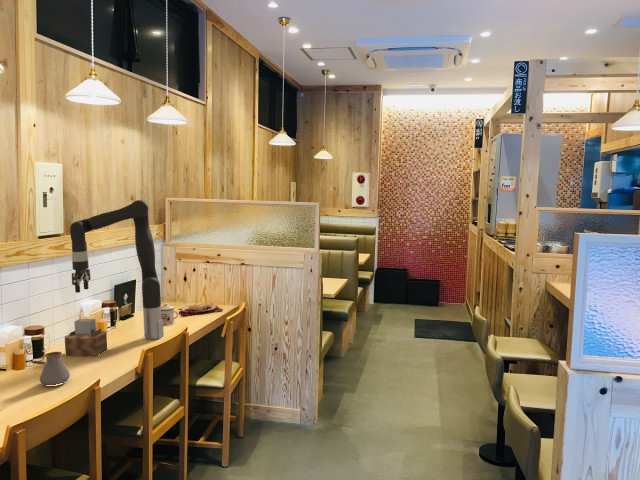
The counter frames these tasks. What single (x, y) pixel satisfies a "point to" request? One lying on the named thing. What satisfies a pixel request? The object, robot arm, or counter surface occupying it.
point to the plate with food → (199, 309)
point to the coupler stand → (86, 344)
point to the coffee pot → (53, 369)
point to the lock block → (85, 326)
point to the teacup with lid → (168, 314)
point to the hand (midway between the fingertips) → (82, 290)
